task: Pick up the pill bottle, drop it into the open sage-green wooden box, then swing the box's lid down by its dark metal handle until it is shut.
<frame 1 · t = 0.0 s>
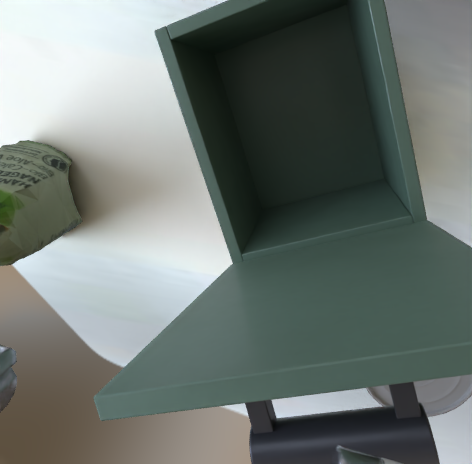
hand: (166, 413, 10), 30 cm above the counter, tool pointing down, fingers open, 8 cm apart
lid: (330, 329, 18), point 21 cm above the counter, hinge at 80.0°
chest: (300, 116, 35), on the counter
canned tomato: (392, 298, 39), on the counter
pouch: (45, 186, 43), on the counter
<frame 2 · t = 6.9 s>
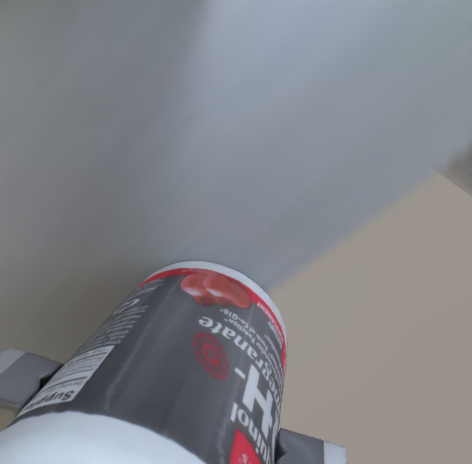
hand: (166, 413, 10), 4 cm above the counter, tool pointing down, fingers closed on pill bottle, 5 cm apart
pill bottle: (207, 328, 13), on the counter, touching gripper
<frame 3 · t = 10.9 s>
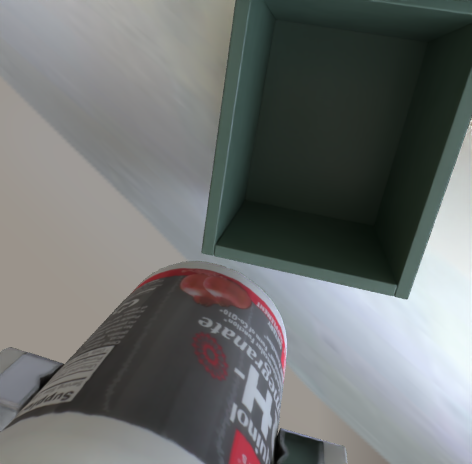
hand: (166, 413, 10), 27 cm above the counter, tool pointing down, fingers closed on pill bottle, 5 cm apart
chest: (327, 127, 33), on the counter
pill bottle: (207, 328, 13), point 23 cm above the counter, touching gripper
when the fingers open (13 cm above the counter, at t = 15.0 s): pill bottle drops 8 cm, resting on chest.
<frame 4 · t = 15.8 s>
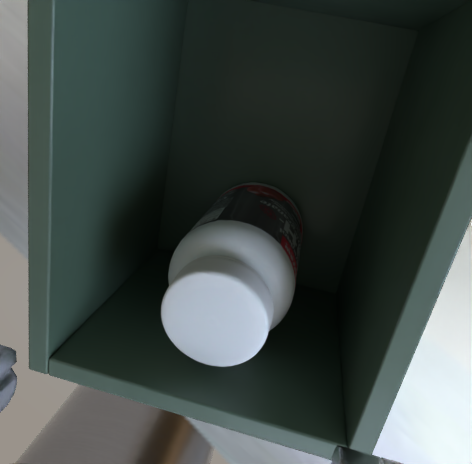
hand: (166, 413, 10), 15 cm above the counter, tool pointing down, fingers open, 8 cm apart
chest: (270, 152, 23), on the counter
pill bottle: (256, 224, 23), point 1 cm above the counter, touching chest
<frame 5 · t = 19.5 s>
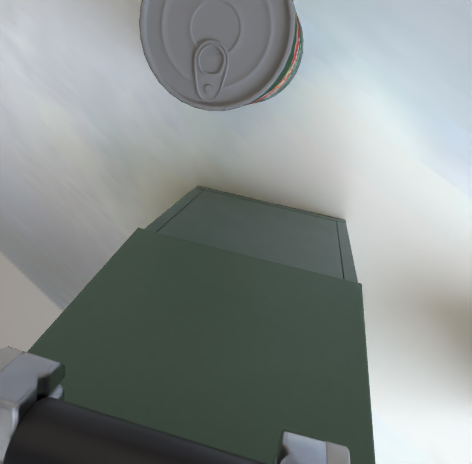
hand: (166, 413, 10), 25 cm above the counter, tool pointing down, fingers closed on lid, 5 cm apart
lid: (208, 339, 14), point 21 cm above the counter, hinge at 80.0°, touching gripper
chest: (251, 284, 37), on the counter
canned tomato: (249, 48, 30), on the counter
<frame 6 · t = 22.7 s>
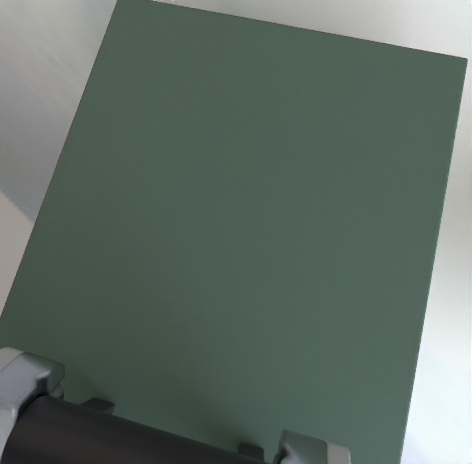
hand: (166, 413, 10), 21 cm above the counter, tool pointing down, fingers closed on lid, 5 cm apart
lid: (220, 235, 11), point 18 cm above the counter, hinge at 31.4°, touching gripper
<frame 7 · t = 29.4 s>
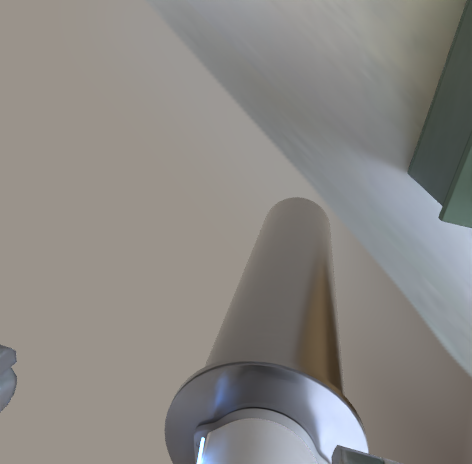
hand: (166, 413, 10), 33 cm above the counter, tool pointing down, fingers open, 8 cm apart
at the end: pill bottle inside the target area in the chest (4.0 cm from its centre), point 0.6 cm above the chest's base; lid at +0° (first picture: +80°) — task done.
